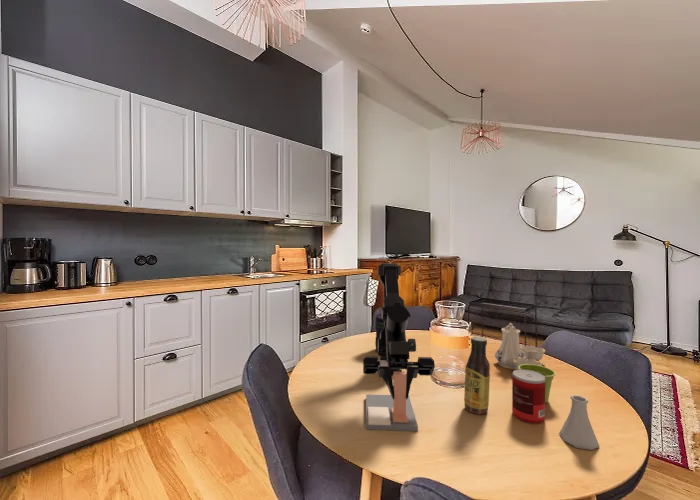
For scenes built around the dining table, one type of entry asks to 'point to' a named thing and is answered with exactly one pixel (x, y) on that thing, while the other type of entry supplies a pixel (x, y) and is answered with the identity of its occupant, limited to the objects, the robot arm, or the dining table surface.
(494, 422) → the dining table surface
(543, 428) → the dining table surface
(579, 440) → the flask
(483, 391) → the sauce bottle
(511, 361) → the chinaware
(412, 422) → the ticket board
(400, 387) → the stub
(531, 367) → the plant pot
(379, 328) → the storage jar
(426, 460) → the dining table surface
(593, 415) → the dining table surface
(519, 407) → the canned food
